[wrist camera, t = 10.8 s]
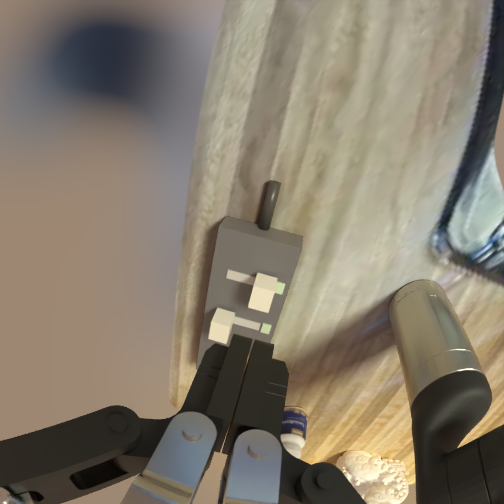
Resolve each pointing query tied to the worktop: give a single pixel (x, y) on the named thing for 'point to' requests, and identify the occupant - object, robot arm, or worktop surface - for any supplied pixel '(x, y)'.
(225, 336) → the switch
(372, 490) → the white plaster sculpture
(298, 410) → the pill bottle
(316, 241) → the worktop surface
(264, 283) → the switch
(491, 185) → the worktop surface
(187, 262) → the worktop surface
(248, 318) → the slider control box
